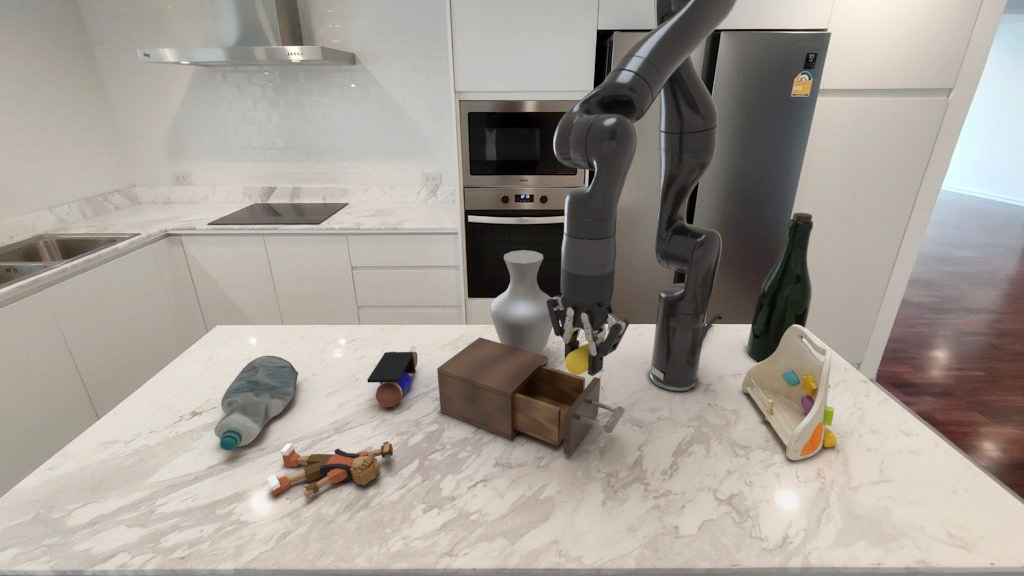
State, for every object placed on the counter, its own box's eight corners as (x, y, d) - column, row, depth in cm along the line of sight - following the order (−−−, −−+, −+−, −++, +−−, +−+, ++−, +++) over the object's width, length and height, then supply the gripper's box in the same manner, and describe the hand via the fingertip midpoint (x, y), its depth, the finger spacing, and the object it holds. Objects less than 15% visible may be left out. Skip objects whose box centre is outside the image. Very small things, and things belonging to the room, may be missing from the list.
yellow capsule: (578, 382, 71) (579, 361, 69) (559, 372, 73) (560, 352, 72) (605, 365, 75) (606, 344, 74) (586, 356, 77) (587, 337, 76)
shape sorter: (852, 463, 78) (883, 370, 71) (785, 461, 79) (810, 368, 72) (793, 392, 96) (813, 312, 89) (739, 391, 97) (755, 312, 90)
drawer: (628, 424, 86) (632, 387, 83) (602, 469, 76) (605, 428, 73) (529, 391, 96) (529, 357, 93) (495, 427, 86) (494, 390, 83)
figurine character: (390, 376, 106) (369, 411, 92) (387, 344, 104) (365, 375, 90) (420, 376, 106) (403, 412, 91) (418, 344, 104) (401, 375, 89)
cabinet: (547, 399, 95) (548, 356, 91) (511, 440, 84) (510, 393, 80) (481, 377, 103) (479, 336, 99) (440, 412, 92) (436, 368, 88)
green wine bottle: (802, 353, 110) (838, 212, 97) (791, 373, 103) (828, 223, 90) (753, 339, 116) (781, 205, 104) (739, 357, 109) (767, 214, 96)
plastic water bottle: (244, 381, 102) (184, 464, 79) (240, 351, 99) (176, 427, 76) (309, 381, 104) (269, 461, 81) (306, 352, 101) (264, 426, 78)
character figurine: (297, 430, 82) (395, 429, 79) (305, 452, 84) (401, 453, 81) (252, 482, 71) (364, 484, 68) (263, 507, 73) (372, 510, 70)
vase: (516, 339, 118) (515, 241, 109) (567, 356, 110) (571, 252, 101) (479, 364, 107) (474, 259, 98) (532, 385, 100) (533, 273, 90)
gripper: (646, 268, 65) (635, 376, 72) (566, 246, 75) (563, 343, 81) (614, 283, 60) (606, 397, 67) (533, 258, 70) (532, 360, 76)
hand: (582, 367), depth 74 cm, fingers closed on yellow capsule, 3 cm apart
